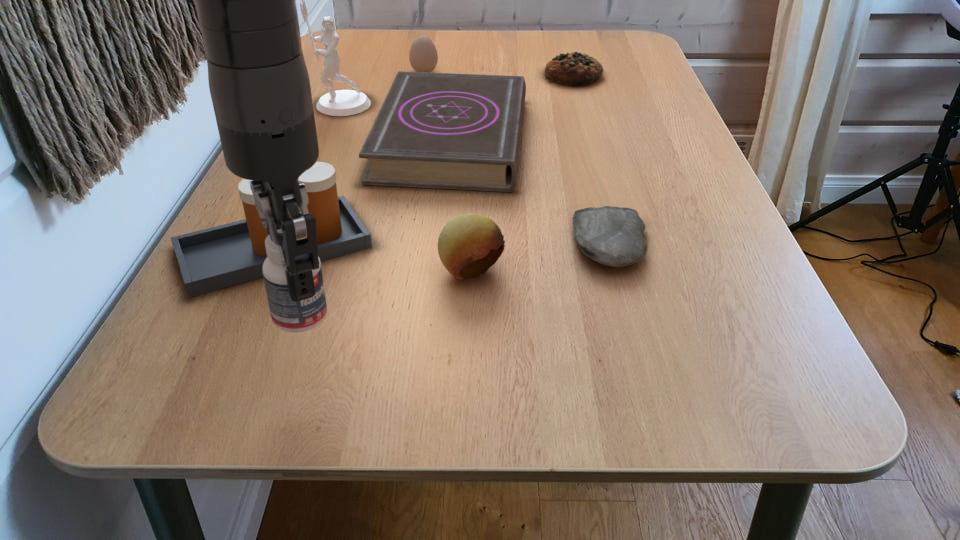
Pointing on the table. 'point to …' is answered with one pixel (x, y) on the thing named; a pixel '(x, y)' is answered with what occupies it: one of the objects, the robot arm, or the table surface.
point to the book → (447, 132)
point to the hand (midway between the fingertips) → (293, 278)
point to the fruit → (470, 245)
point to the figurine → (334, 74)
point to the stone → (610, 235)
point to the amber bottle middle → (253, 219)
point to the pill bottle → (280, 304)
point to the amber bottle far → (323, 200)
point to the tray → (249, 252)
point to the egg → (423, 54)
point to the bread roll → (574, 69)
